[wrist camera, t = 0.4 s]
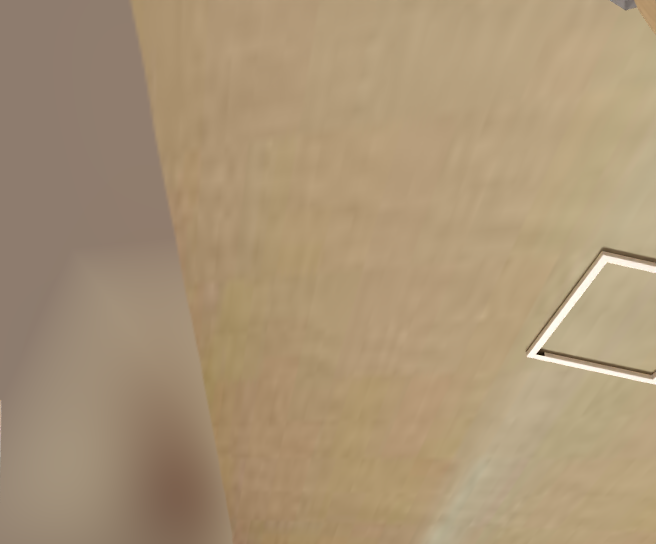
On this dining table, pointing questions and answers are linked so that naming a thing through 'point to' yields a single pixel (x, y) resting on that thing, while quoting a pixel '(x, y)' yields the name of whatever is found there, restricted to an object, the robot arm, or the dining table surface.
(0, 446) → the robot arm
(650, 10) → the silver metal tumbler
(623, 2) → the holder ring
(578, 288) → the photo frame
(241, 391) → the dining table surface
